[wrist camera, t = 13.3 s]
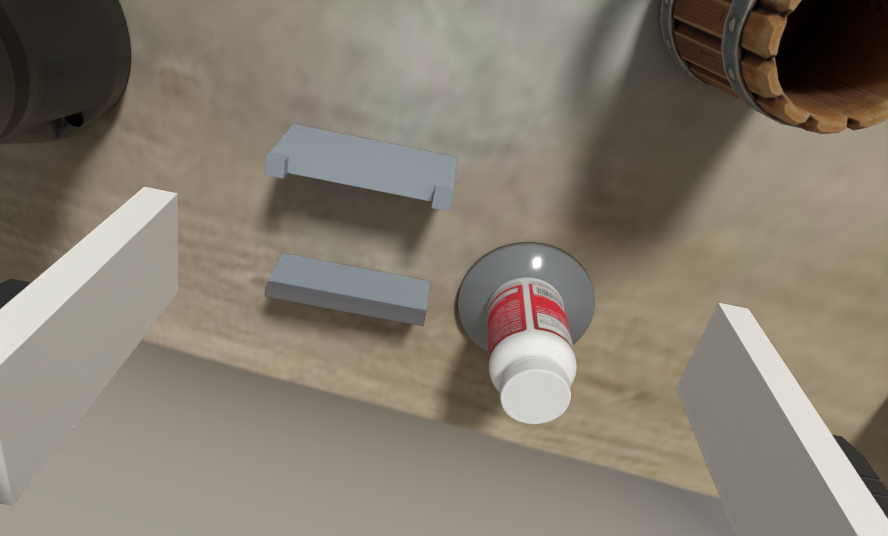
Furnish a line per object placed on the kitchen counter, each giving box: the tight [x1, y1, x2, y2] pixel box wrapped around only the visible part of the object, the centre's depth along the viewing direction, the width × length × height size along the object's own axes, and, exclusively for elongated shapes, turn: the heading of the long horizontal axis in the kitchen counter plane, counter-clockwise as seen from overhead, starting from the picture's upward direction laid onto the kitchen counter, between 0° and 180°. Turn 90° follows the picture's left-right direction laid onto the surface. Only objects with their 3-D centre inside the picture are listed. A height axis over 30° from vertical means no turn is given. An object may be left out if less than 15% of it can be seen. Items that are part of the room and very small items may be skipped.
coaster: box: [458, 242, 595, 352], centre depth 53 cm, size 11×11×1 cm
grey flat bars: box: [265, 124, 457, 326], centre depth 47 cm, size 12×12×7 cm
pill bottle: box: [487, 277, 576, 424], centre depth 47 cm, size 6×6×11 cm
